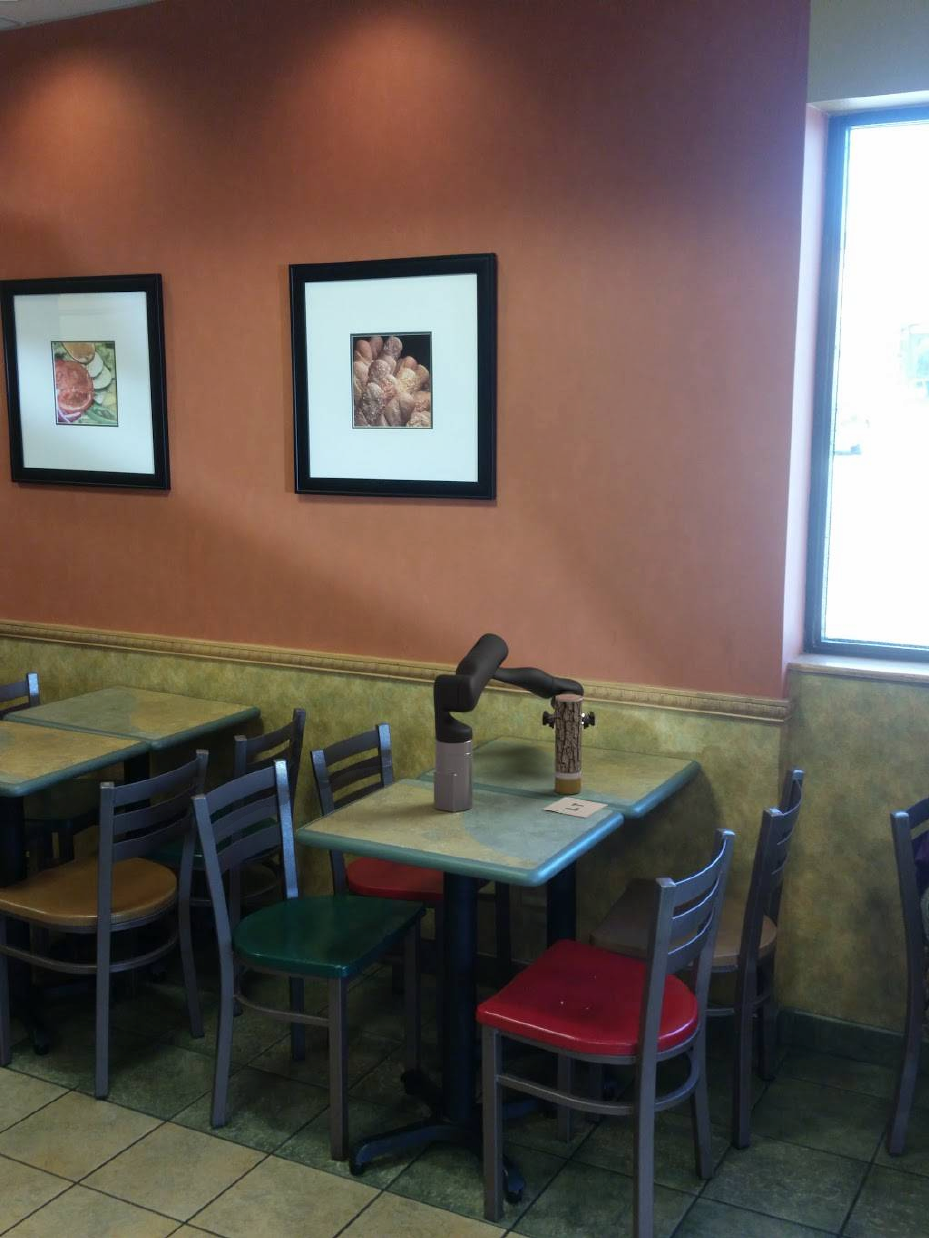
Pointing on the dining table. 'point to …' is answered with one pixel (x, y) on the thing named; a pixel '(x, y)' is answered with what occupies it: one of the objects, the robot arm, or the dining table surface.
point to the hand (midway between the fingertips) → (569, 725)
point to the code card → (575, 807)
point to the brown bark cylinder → (568, 743)
